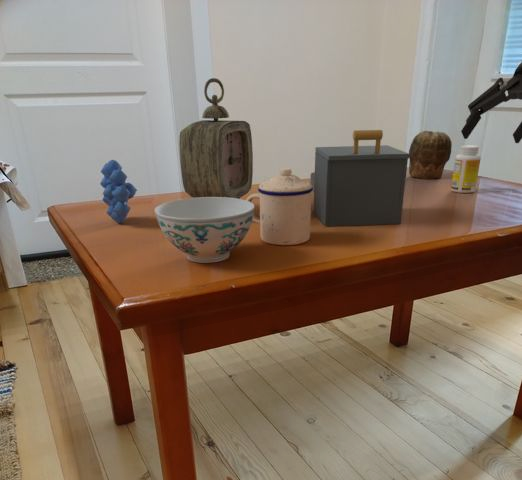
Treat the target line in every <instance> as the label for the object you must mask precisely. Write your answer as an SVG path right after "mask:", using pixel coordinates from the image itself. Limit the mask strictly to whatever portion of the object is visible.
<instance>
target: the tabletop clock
mask: <svg viewBox="0 0 522 480" xmlns="http://www.w3.org/2000/svg"><path fill="white" fill-rule="evenodd" d="M212 83H217V84H218V85H219V87H220V89H221V94H220V97H218V95H217V94H213V95H212V96H211V98H210V97H209V96H208V88H209V86H210V84H212ZM203 92H204V97H205V100H206V101H207V102H208V103H209V104H211V105H209V106H207V107H206V108H205V109H204V110H203V113H202V116H201V120H199V121H195V122H191V123H190V124H188V125H187V126H185V127H184V128H183V129H181V131H180V132H179V138H178V142H179V143H178V146H179V164H180V173H181V182H182V185H183V189H184V192H185V193H186V194H187V195H188V196H190V198H198V197H228V198H237V199H241V198H242V197H244V196H246V195H248V193H249V192H250V191H251V189H252V184H253V176H254V175H253V173H254V172H253V171H254V169H253V168H254V154H253V153H254V152H253V137H252V130H251V124H250V123H249V122H248V121H246V120H219V119H227V118H228V119H229V118H230V115H229V112H228V110H227V108H226V107H224V106H222V105H219V103H220V102H222V101H223V99H224V96H225V88H224V84H223V82H222V81H221V80H220V79H218V78H216V77H212V78H209V79H207V81H206V82H205V85H204V91H203ZM204 119H205V120H204ZM206 119H207V120H206Z"/></svg>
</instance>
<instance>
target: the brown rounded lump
mask: <svg viewBox="0 0 522 480" xmlns="http://www.w3.org/2000/svg"><path fill="white" fill-rule="evenodd" d="M452 145H453V143H452V140H451V137H450V136H449V135H448V134H447V133H446V132H443V131H433V130H422V131H420V132H419V133H418V134H416V135H415V136H414V137H413V139H412V141H411V143H410V146H409V149H408V153H409V154H410V158H408V160H409V163H408V173H409V175H410V177H411V178H417V179H422V180H423V179H424V180H435V179H434V178H437V179H441V177H442V176H443V173H444V169H445V166H446V164H447V163H448V162H449V161H450V158H451V154H452Z"/></svg>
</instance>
